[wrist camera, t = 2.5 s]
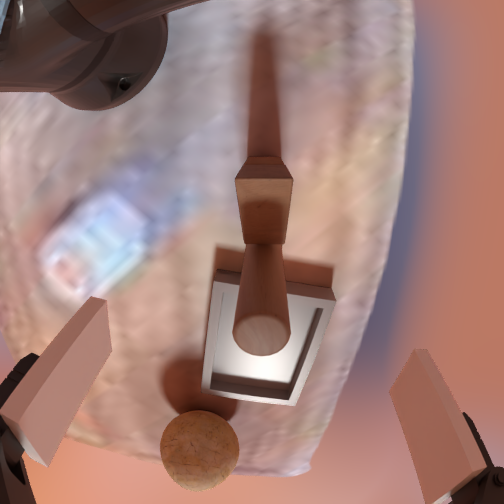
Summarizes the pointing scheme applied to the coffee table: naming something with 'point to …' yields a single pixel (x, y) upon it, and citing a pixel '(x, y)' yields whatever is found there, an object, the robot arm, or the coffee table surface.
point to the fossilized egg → (199, 450)
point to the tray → (263, 367)
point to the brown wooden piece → (263, 256)
